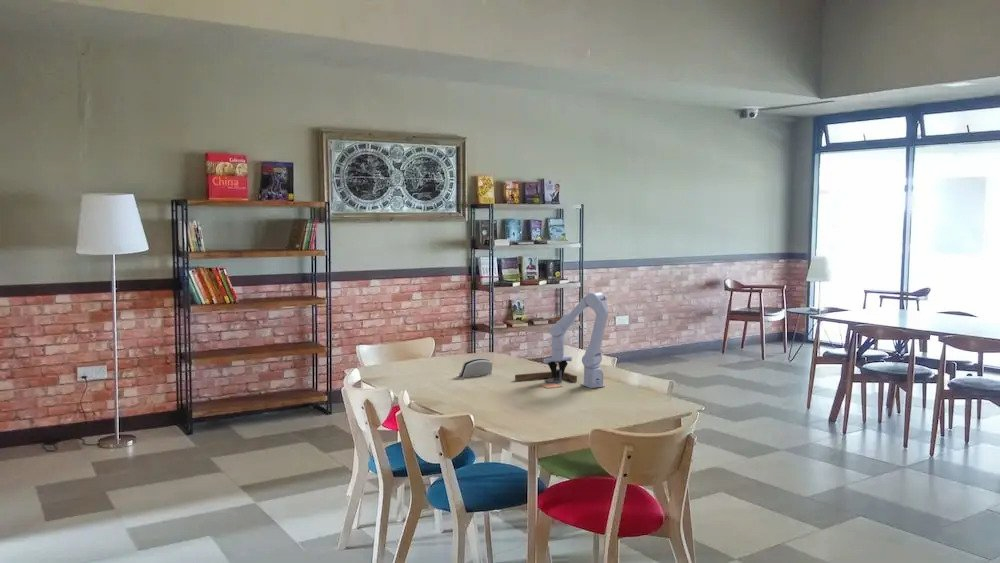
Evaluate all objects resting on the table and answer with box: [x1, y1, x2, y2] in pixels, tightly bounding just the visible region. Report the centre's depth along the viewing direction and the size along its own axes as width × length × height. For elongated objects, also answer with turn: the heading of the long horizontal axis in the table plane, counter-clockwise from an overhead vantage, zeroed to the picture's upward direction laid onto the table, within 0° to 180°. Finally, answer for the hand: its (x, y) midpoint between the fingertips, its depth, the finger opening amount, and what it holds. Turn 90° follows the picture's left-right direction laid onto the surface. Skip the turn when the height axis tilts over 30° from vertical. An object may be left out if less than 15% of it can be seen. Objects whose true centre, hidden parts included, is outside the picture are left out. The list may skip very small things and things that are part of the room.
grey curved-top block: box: [458, 357, 493, 378], centre depth 411 cm, size 17×5×10 cm, turn 123°
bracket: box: [544, 367, 563, 384], centre depth 395 cm, size 6×6×6 cm
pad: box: [539, 383, 563, 389], centre depth 386 cm, size 8×8×1 cm
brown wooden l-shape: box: [514, 370, 578, 383], centre depth 396 cm, size 15×26×3 cm, turn 115°
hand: (557, 376), depth 396 cm, fingers open, 3 cm apart
